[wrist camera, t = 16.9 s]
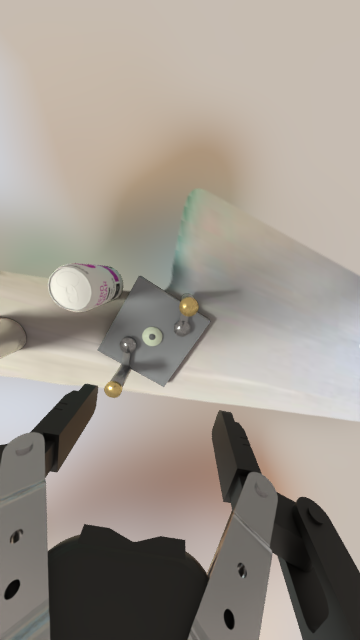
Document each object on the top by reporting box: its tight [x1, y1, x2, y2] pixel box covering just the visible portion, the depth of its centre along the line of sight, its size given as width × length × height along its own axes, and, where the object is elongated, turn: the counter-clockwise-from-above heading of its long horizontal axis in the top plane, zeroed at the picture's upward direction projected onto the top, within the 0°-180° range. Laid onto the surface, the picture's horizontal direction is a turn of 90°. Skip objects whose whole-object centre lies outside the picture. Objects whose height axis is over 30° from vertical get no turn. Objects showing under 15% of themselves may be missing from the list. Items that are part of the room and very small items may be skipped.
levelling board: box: [98, 276, 210, 387], centre depth 45 cm, size 20×22×2 cm
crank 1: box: [104, 336, 137, 398], centre depth 41 cm, size 11×4×9 cm, turn 169°
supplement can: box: [48, 263, 123, 312], centre depth 36 cm, size 8×8×15 cm
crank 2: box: [174, 293, 199, 337], centre depth 38 cm, size 11×4×9 cm, turn 170°
